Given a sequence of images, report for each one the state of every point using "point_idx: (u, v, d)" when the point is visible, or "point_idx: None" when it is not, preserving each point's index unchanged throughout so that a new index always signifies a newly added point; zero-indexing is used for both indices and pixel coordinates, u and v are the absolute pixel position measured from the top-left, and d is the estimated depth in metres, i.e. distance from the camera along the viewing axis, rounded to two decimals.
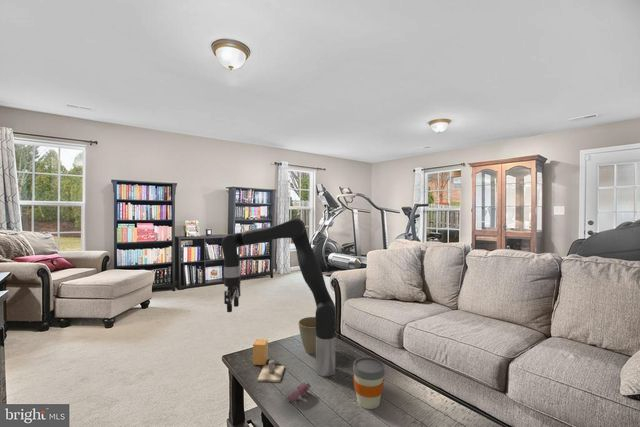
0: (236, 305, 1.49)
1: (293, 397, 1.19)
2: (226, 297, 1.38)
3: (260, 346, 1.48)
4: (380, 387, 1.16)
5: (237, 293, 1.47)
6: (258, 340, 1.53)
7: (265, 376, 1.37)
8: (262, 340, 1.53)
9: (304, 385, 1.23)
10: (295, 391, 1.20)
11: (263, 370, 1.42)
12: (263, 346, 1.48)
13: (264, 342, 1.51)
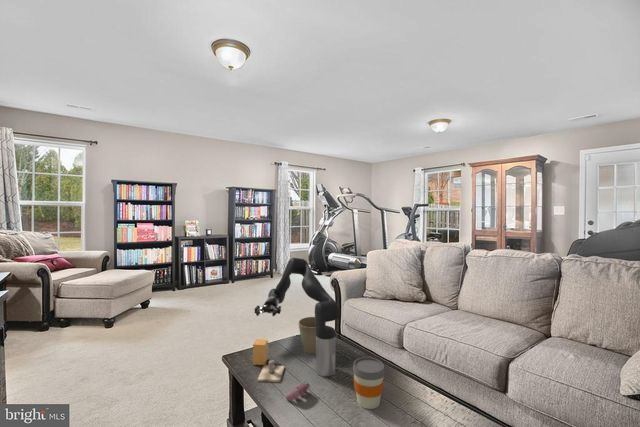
0: None
1: (292, 397, 1.19)
2: None
3: (260, 346, 1.48)
4: (380, 387, 1.16)
5: (271, 307, 1.69)
6: (258, 340, 1.53)
7: (265, 376, 1.37)
8: (262, 340, 1.53)
9: (303, 385, 1.23)
10: (294, 391, 1.20)
11: (263, 370, 1.42)
12: (263, 346, 1.48)
13: (264, 342, 1.51)
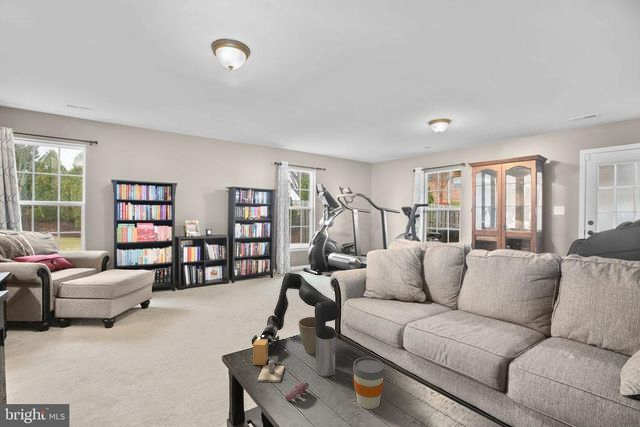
0: None
1: (291, 396, 1.19)
2: None
3: (260, 346, 1.48)
4: (380, 387, 1.16)
5: (269, 337, 1.62)
6: (258, 340, 1.53)
7: (265, 376, 1.37)
8: (262, 340, 1.53)
9: (302, 384, 1.23)
10: (293, 390, 1.20)
11: (263, 370, 1.42)
12: (263, 346, 1.48)
13: (264, 342, 1.51)
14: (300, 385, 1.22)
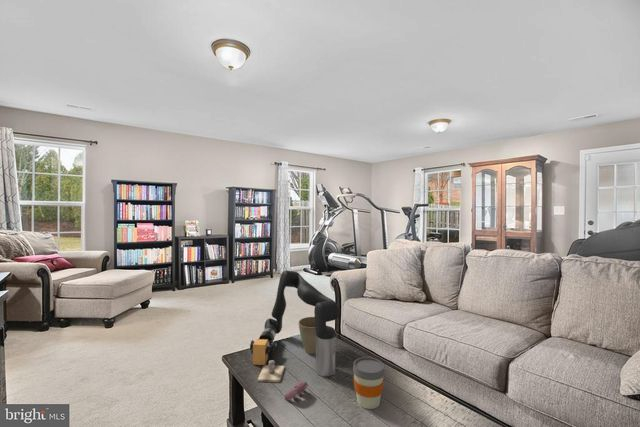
0: None
1: (291, 396, 1.20)
2: None
3: (260, 346, 1.48)
4: (380, 387, 1.16)
5: None
6: (258, 340, 1.53)
7: (265, 376, 1.37)
8: (262, 340, 1.53)
9: (302, 384, 1.23)
10: (293, 390, 1.20)
11: (263, 370, 1.42)
12: (263, 346, 1.48)
13: (264, 342, 1.51)
14: (299, 385, 1.22)
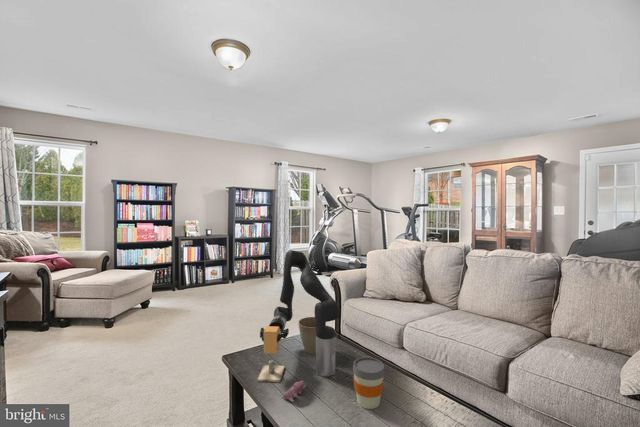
0: None
1: (289, 395, 1.20)
2: None
3: (271, 333, 1.37)
4: (380, 387, 1.16)
5: None
6: (269, 327, 1.42)
7: (265, 376, 1.37)
8: (273, 327, 1.42)
9: (300, 383, 1.24)
10: (291, 389, 1.21)
11: (263, 370, 1.42)
12: (274, 333, 1.37)
13: (275, 329, 1.39)
14: (298, 384, 1.23)
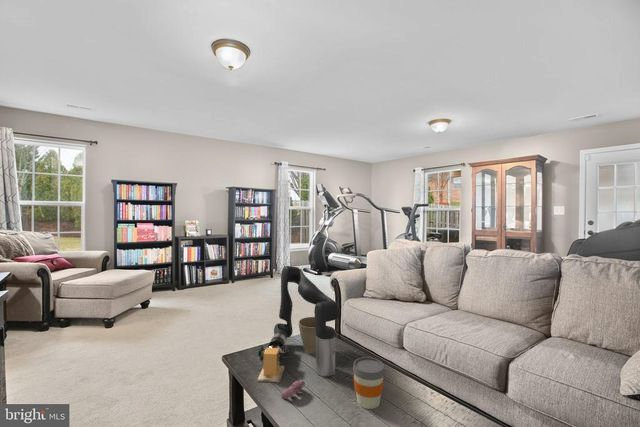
0: (279, 358, 1.38)
1: (288, 395, 1.21)
2: None
3: (271, 355, 1.37)
4: (380, 387, 1.16)
5: None
6: (269, 349, 1.42)
7: (265, 376, 1.37)
8: (273, 349, 1.42)
9: (299, 383, 1.24)
10: (290, 389, 1.21)
11: (263, 370, 1.42)
12: (274, 355, 1.37)
13: (275, 351, 1.39)
14: (296, 383, 1.23)
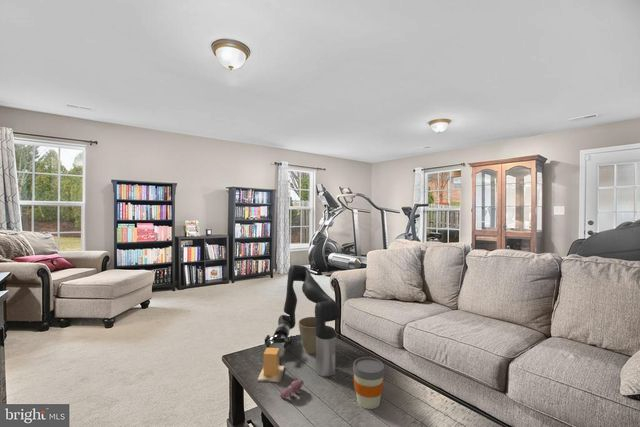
0: (284, 345, 1.51)
1: (286, 394, 1.21)
2: None
3: (271, 355, 1.37)
4: (380, 387, 1.16)
5: (282, 337, 1.58)
6: (269, 349, 1.42)
7: (265, 376, 1.37)
8: (273, 349, 1.42)
9: (297, 382, 1.25)
10: (288, 388, 1.22)
11: (263, 370, 1.42)
12: (274, 355, 1.37)
13: (275, 351, 1.39)
14: (295, 383, 1.24)
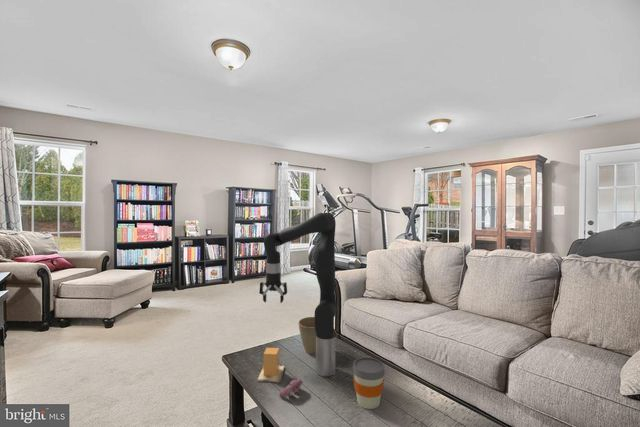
0: None
1: (285, 393, 1.21)
2: None
3: (271, 355, 1.37)
4: (380, 387, 1.16)
5: (276, 289, 1.56)
6: (269, 349, 1.42)
7: (265, 376, 1.37)
8: (273, 349, 1.42)
9: (296, 382, 1.25)
10: (287, 388, 1.22)
11: (263, 370, 1.42)
12: (274, 355, 1.37)
13: (275, 351, 1.39)
14: (294, 382, 1.24)
